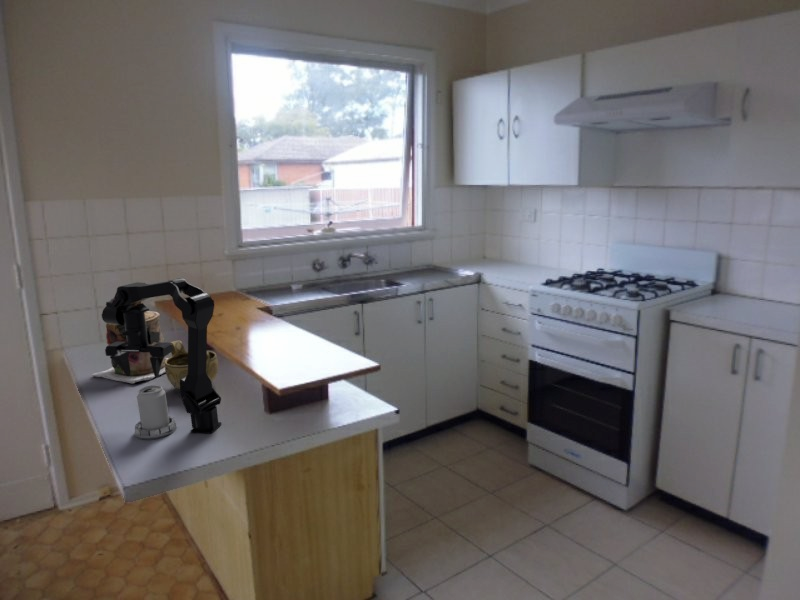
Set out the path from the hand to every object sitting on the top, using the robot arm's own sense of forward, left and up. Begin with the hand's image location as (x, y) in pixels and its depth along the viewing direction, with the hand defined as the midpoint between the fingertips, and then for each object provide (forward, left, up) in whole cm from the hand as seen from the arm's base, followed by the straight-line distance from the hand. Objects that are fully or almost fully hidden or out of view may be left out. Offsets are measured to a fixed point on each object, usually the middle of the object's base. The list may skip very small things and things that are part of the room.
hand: (142, 376), depth 179 cm
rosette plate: (-8, +9, -13) cm, 18 cm away
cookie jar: (+28, -39, -13) cm, 50 cm away
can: (-8, +9, -12) cm, 17 cm away
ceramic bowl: (-2, -24, -13) cm, 27 cm away
